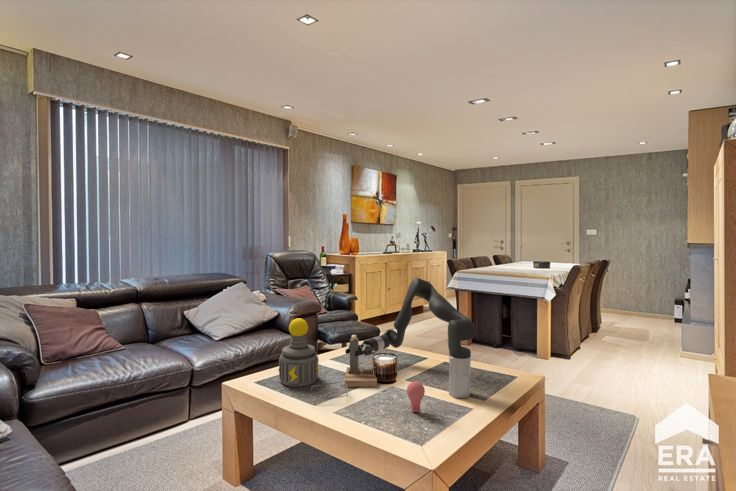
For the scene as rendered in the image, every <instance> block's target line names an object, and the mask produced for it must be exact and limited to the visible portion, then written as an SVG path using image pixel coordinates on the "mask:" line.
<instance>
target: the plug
mask: <svg viewBox="0 0 736 491" xmlns="http://www.w3.org/2000/svg"><path fill="white" fill-rule="evenodd" d="M359 345H360V343H359V338H358V336H357V334H352V335H351V338H350V339H349V346H350V353H349V367H350V371H358V369H359V367H360V364H359V361H360V360H359V357H360V356H357V357H356V356H355V352H356V351H359Z"/></svg>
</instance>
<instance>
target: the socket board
mask: <svg viewBox="0 0 736 491" xmlns="http://www.w3.org/2000/svg"><path fill="white" fill-rule="evenodd" d="M374 368H375V367H373V366H362V367H360V366H359V369H358V371H350V366H349V367H346V370H345V375H344V379H343V383H344V382H345V383H344V385H343V387H344V388H345V385H346V387H347V388H377V386H378V376H377V377H376V376H375V375H374V374H373V371H374Z"/></svg>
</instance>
